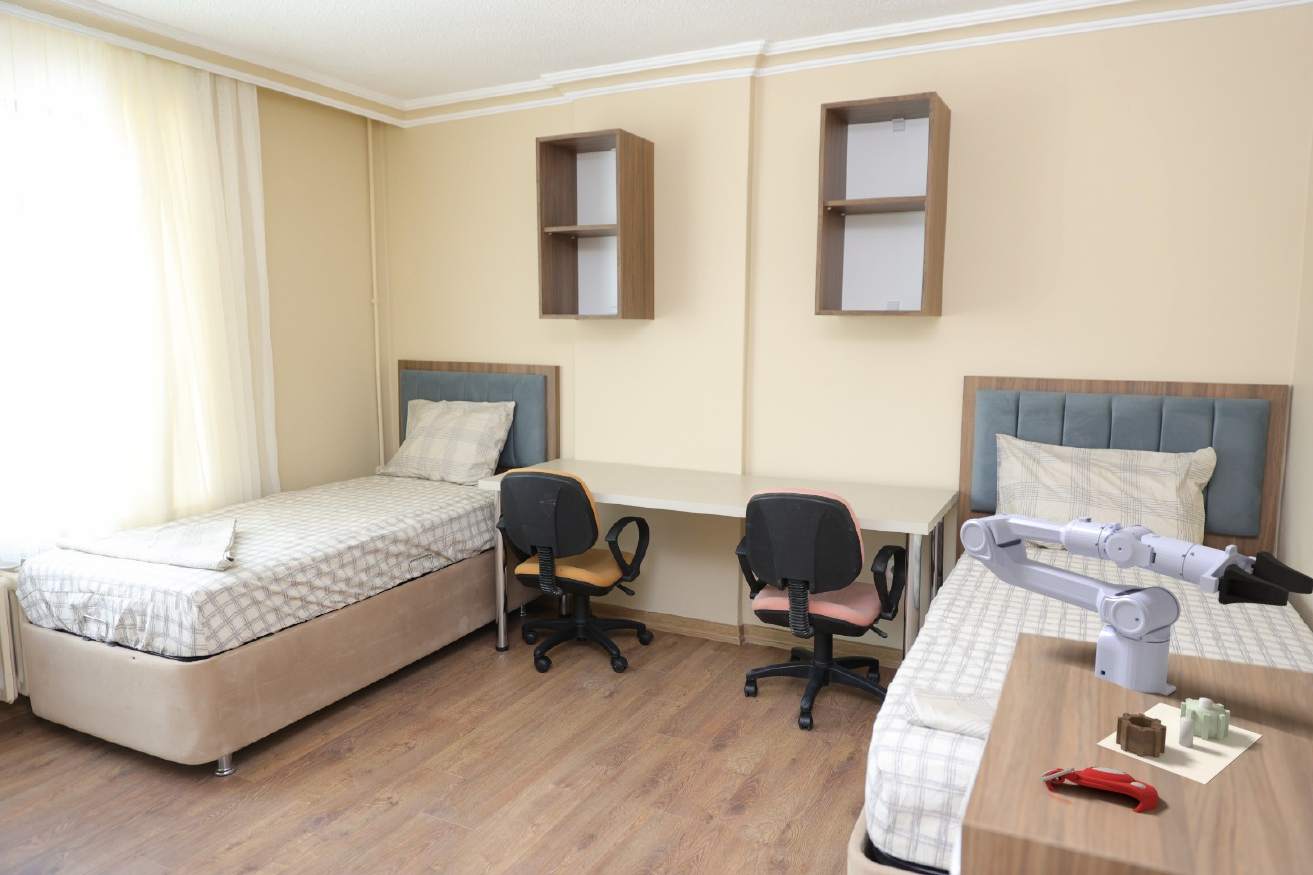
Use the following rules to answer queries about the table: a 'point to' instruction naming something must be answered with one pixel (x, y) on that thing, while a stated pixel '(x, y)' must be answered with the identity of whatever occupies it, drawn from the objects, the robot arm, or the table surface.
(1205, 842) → the table surface
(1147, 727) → the walnut gear
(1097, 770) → the red peeler
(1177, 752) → the gear board
